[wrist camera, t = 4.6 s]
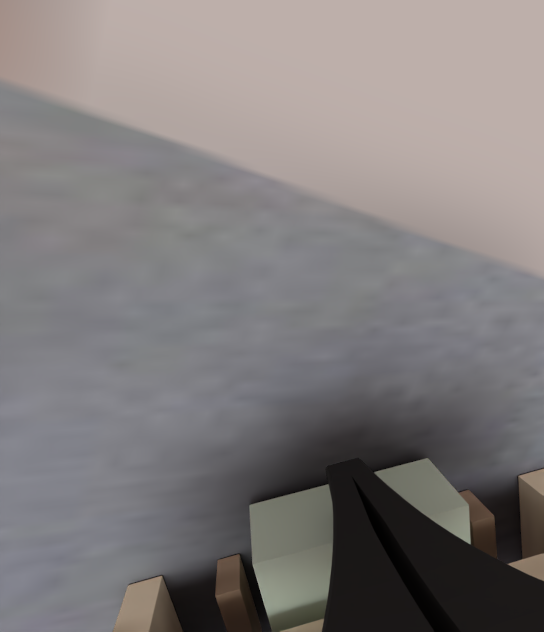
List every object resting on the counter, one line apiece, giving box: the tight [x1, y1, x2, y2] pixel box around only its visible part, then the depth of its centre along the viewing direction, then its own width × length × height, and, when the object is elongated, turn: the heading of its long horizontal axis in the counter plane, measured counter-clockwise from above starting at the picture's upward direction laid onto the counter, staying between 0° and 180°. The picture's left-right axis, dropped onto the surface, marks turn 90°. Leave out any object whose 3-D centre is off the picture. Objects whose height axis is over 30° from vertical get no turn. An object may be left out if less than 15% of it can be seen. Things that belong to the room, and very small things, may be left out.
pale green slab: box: [249, 458, 471, 632], centre depth 13 cm, size 7×8×2 cm
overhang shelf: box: [113, 469, 544, 632], centre depth 13 cm, size 6×20×4 cm, turn 102°
